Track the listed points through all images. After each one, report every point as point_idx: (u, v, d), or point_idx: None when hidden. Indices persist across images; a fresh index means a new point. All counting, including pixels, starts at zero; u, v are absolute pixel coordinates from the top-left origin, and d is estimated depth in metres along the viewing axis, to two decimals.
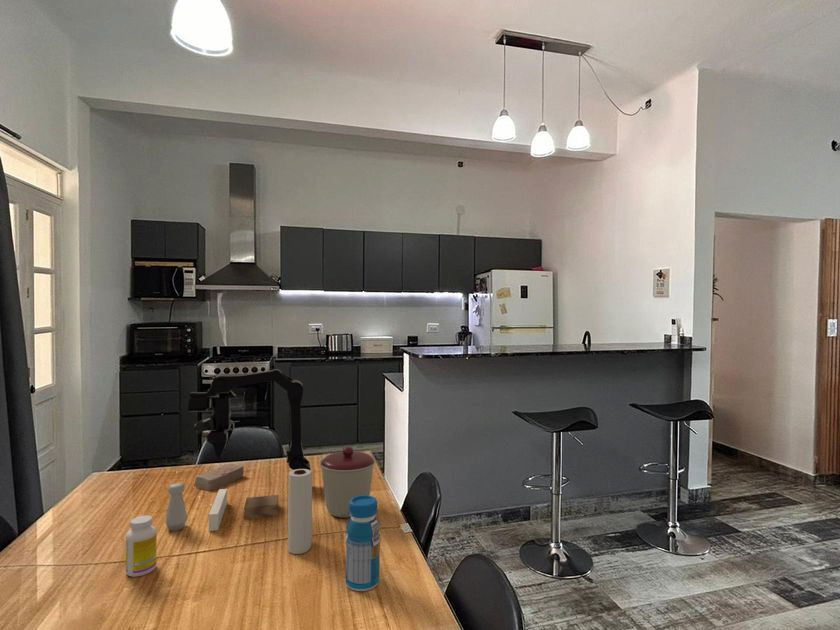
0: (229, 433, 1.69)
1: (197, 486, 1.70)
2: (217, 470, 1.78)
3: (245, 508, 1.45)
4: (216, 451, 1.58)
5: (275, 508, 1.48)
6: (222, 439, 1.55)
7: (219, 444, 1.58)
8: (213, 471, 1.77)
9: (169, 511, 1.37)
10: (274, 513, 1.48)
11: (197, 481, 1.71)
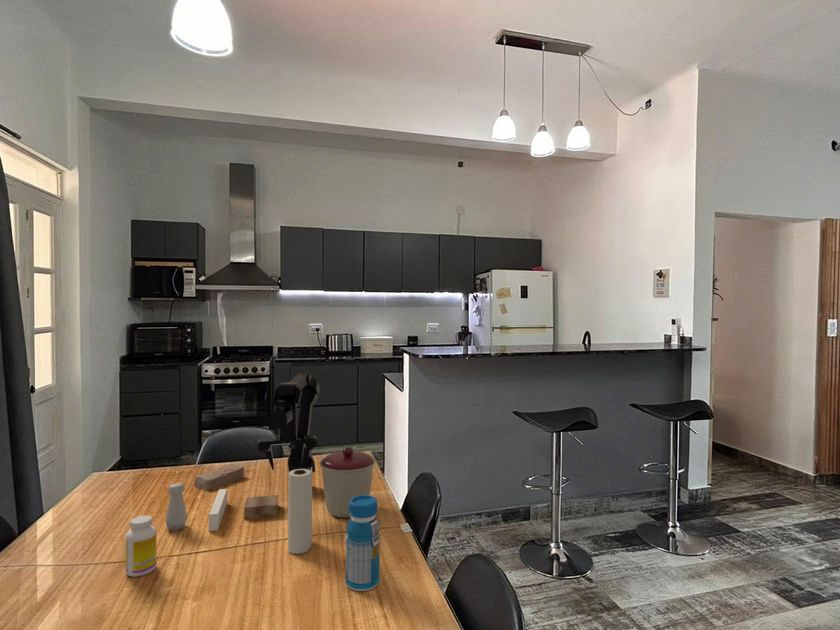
0: (303, 450, 1.53)
1: (196, 485, 1.71)
2: (217, 470, 1.78)
3: (245, 508, 1.45)
4: None
5: (275, 508, 1.48)
6: None
7: None
8: (213, 471, 1.77)
9: (169, 511, 1.37)
10: (274, 513, 1.48)
11: (196, 480, 1.71)
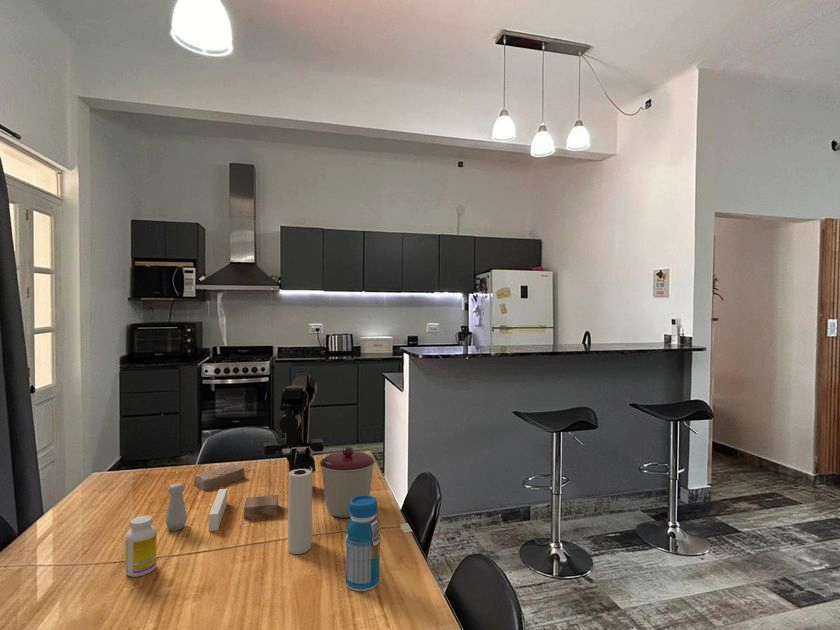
0: (296, 455, 1.51)
1: (195, 485, 1.72)
2: (218, 470, 1.78)
3: (245, 508, 1.45)
4: None
5: (275, 508, 1.48)
6: (264, 452, 1.49)
7: None
8: (214, 471, 1.77)
9: (169, 511, 1.37)
10: (274, 513, 1.48)
11: (195, 480, 1.72)
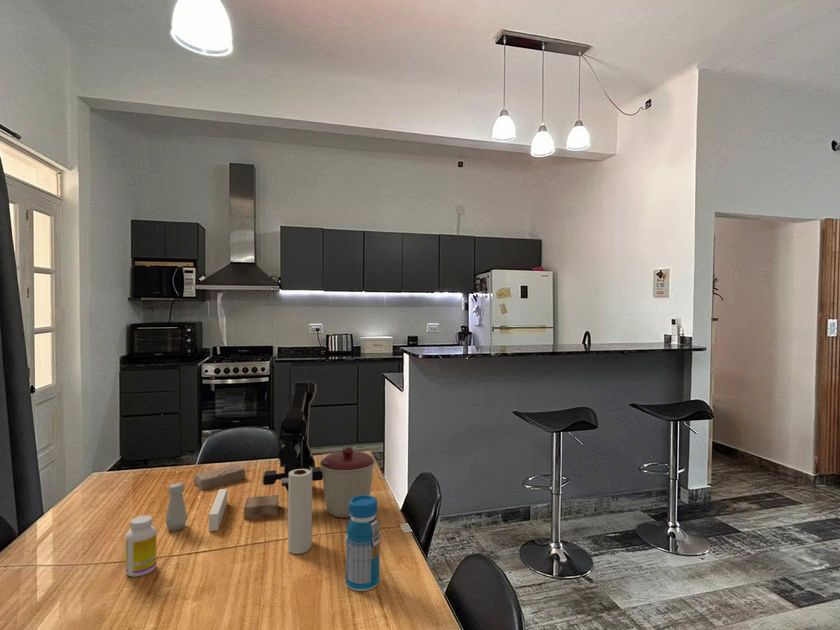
0: None
1: (195, 484, 1.73)
2: (219, 470, 1.78)
3: (245, 508, 1.45)
4: None
5: (275, 508, 1.48)
6: (263, 482, 1.49)
7: None
8: (214, 470, 1.78)
9: (169, 511, 1.37)
10: (274, 513, 1.48)
11: (195, 479, 1.73)
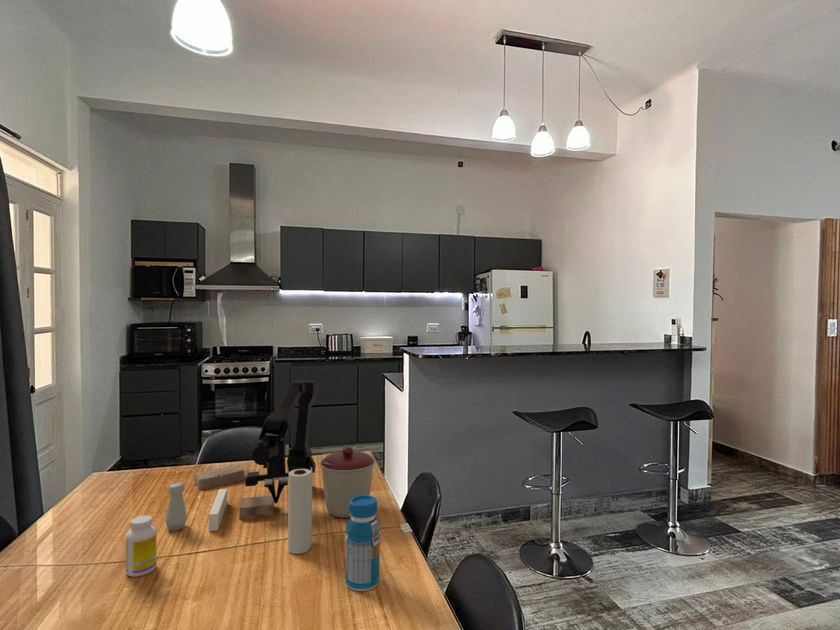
0: (278, 486, 1.50)
1: (195, 483, 1.73)
2: (219, 470, 1.78)
3: (240, 508, 1.45)
4: None
5: (270, 509, 1.47)
6: (245, 483, 1.47)
7: None
8: (215, 470, 1.78)
9: (169, 511, 1.37)
10: (269, 514, 1.47)
11: (195, 478, 1.74)
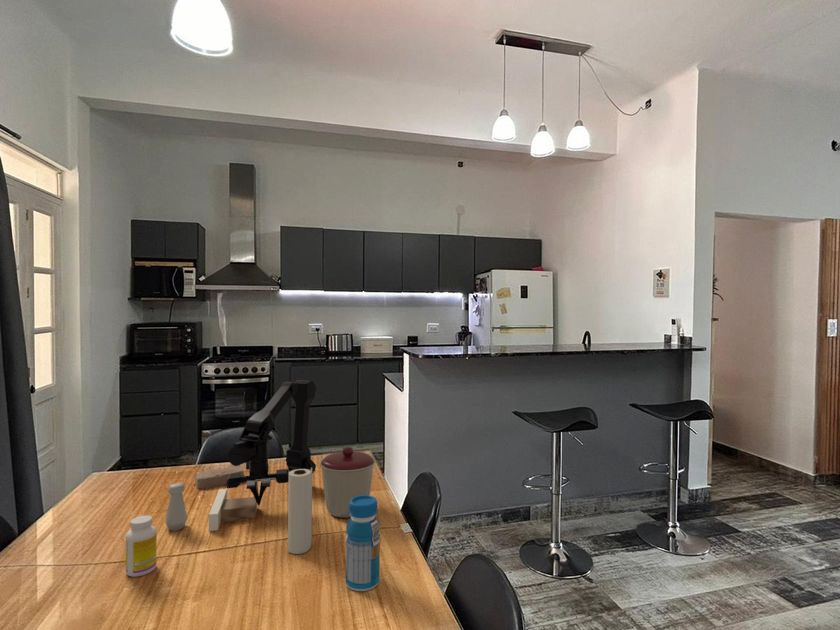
0: (260, 487, 1.48)
1: (195, 482, 1.74)
2: (220, 470, 1.78)
3: (222, 510, 1.43)
4: None
5: (253, 510, 1.46)
6: None
7: None
8: (216, 470, 1.78)
9: (169, 511, 1.37)
10: (251, 515, 1.46)
11: (195, 477, 1.75)
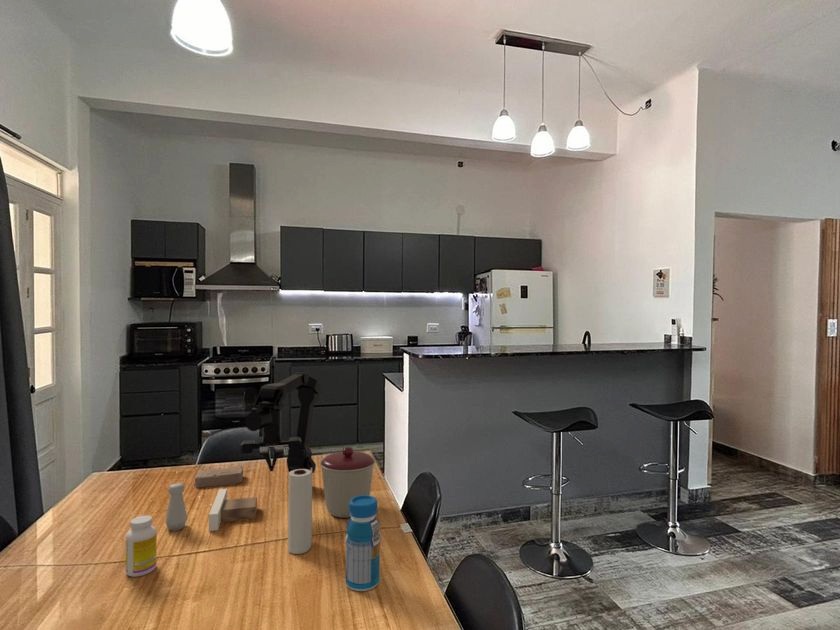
0: (273, 454, 1.50)
1: None
2: (221, 470, 1.79)
3: (222, 511, 1.43)
4: None
5: (253, 510, 1.46)
6: None
7: None
8: (217, 470, 1.79)
9: (169, 511, 1.37)
10: (251, 516, 1.46)
11: None
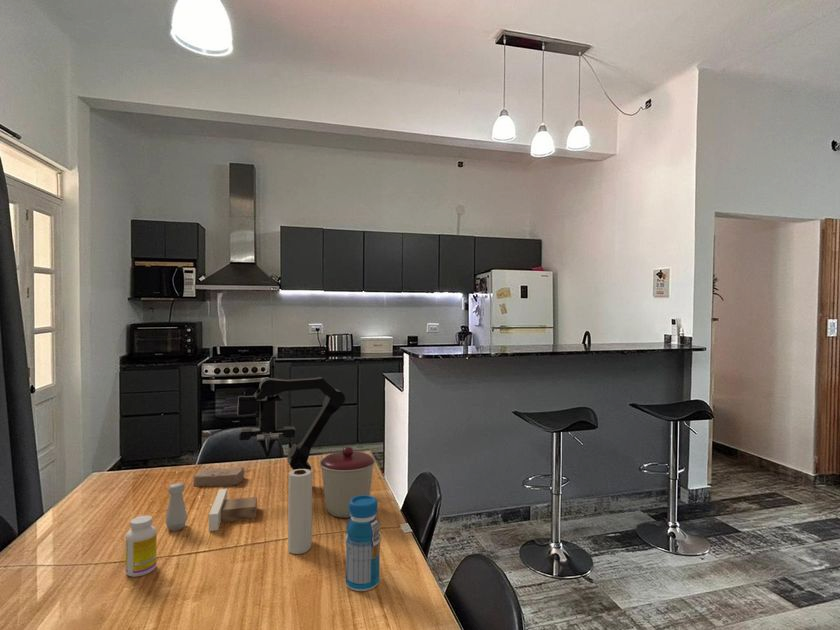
0: (269, 441, 1.64)
1: None
2: (222, 470, 1.78)
3: (222, 510, 1.43)
4: None
5: (253, 510, 1.46)
6: (239, 438, 1.62)
7: None
8: (219, 469, 1.79)
9: (169, 511, 1.37)
10: (251, 516, 1.46)
11: None
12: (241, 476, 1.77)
